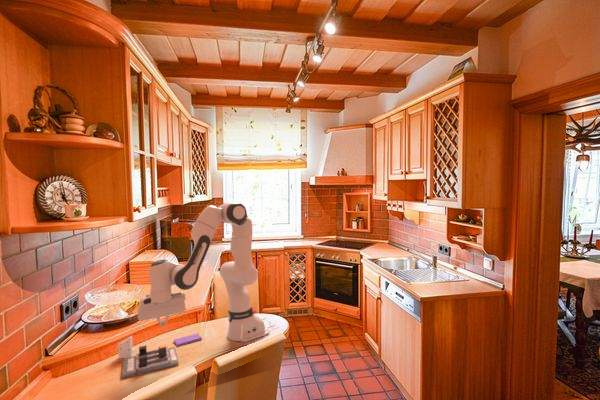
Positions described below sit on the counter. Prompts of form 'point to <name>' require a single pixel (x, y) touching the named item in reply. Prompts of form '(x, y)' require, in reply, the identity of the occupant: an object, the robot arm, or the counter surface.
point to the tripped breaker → (162, 351)
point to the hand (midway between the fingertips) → (163, 325)
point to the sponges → (187, 339)
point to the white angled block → (126, 348)
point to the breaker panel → (148, 361)
